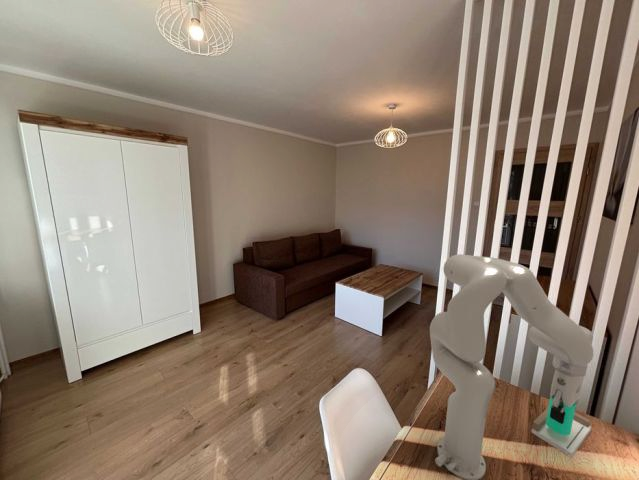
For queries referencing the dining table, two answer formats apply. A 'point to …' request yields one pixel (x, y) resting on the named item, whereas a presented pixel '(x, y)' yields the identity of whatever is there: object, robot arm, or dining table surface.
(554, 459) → the dining table surface
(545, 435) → the jig board
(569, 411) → the candle
